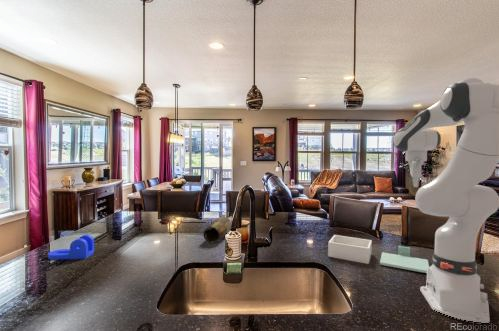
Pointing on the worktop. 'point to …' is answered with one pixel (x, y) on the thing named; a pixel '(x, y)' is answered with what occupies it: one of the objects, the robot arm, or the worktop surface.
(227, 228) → the decorative bottle
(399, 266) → the lid
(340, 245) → the tub
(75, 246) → the bracket
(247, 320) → the worktop surface
